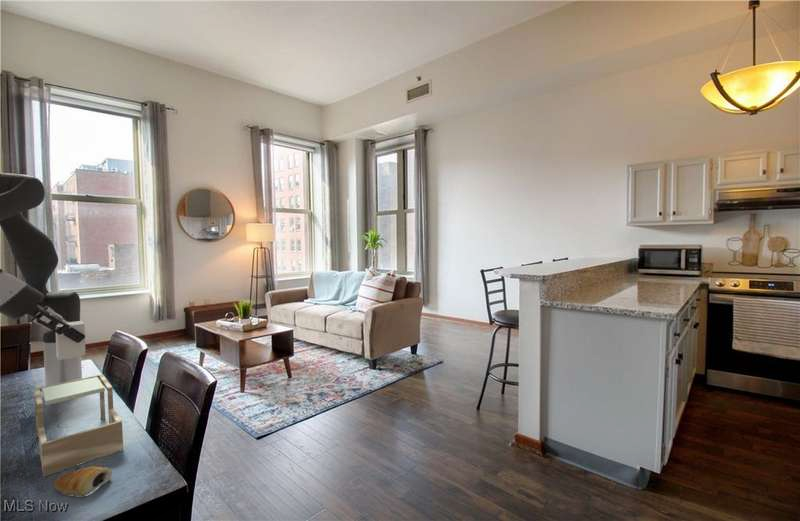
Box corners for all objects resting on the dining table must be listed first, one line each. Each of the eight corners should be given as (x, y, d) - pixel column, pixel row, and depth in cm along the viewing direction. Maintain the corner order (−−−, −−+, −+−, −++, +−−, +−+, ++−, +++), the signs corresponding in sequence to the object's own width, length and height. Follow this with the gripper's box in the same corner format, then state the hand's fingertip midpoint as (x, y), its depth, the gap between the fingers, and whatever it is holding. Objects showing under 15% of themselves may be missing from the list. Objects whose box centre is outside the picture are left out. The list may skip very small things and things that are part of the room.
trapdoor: (42, 392, 94) (42, 388, 94) (97, 380, 102) (97, 376, 102) (45, 405, 87) (45, 401, 87) (104, 391, 95) (104, 387, 95)
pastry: (42, 497, 72) (41, 478, 72) (75, 476, 79) (75, 458, 79) (86, 500, 71) (86, 480, 71) (116, 478, 78) (115, 460, 78)
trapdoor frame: (36, 436, 95) (34, 388, 94) (104, 417, 105) (102, 374, 104) (43, 476, 78) (40, 419, 78) (123, 449, 88) (121, 398, 88)
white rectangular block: (56, 355, 92) (55, 323, 92) (82, 351, 96) (81, 320, 95) (58, 360, 89) (57, 327, 88) (85, 355, 92) (84, 323, 92)
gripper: (26, 285, 81) (98, 330, 90) (24, 280, 91) (89, 321, 100) (-9, 312, 77) (70, 356, 87) (-7, 304, 87) (64, 344, 97)
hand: (80, 337), depth 93 cm, fingers closed on white rectangular block, 5 cm apart
